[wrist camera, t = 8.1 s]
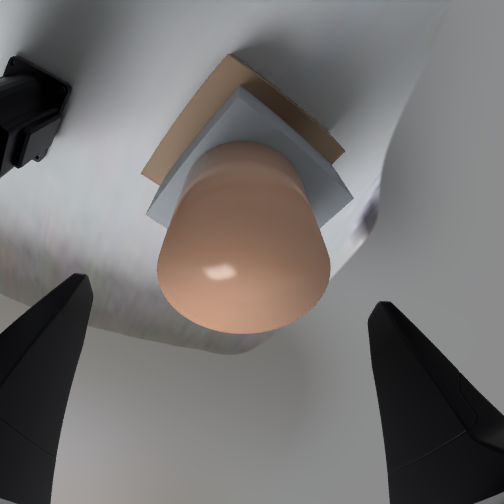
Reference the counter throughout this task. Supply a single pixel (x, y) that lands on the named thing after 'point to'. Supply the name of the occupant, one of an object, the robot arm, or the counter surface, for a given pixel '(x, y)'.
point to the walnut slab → (213, 98)
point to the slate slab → (262, 131)
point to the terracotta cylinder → (243, 243)
